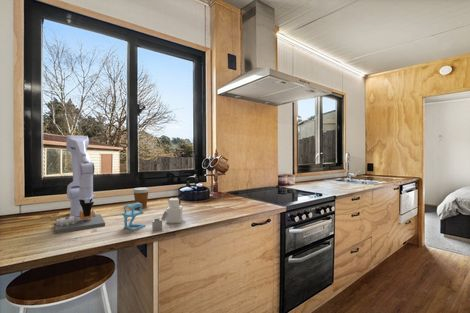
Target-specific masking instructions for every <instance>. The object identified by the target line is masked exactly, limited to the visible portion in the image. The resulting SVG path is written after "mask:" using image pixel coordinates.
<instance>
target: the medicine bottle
mask: <svg viewBox="0 0 470 313" xmlns="http://www.w3.org/2000/svg"><path fill="white" fill-rule="evenodd" d="M181 200H182V199H181V197H178V196H177V197H176V196H175V197H170V198H169V199H168V207H167V208H166V210H165V211H167V212H168V215H167V217H166V219H165V223H166V224H176V223H177V224H181V222H182V220H183V205H181V203H182V202H181Z"/></svg>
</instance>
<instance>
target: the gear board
mask: <svg viewBox="0 0 470 313" xmlns="http://www.w3.org/2000/svg"><path fill="white" fill-rule="evenodd" d="M104 226H106V222H105V219H104V218H103V217H102V214H101V213H99V214H98V213H97V212H96V211H95V210H93V217H92V218H89V219H80V216H75V217H74V216H72V217H70V216H65V217H61V218H57V219H56V220H55V234H62V233H68V232H74V231H80V230H86V229H92V228H100V227H104Z"/></svg>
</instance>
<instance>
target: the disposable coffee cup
mask: <svg viewBox="0 0 470 313" xmlns="http://www.w3.org/2000/svg"><path fill="white" fill-rule="evenodd" d="M132 192H133V196H134V203H136V202H139V203H141V204H142V208H141V209H145V208H148V207H147V205H148V199H149V198H148V197H149V192H150V190H149V187H145V186H144V187H135V188H133V191H132ZM136 209H139V210H140V207H137V208H136Z"/></svg>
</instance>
